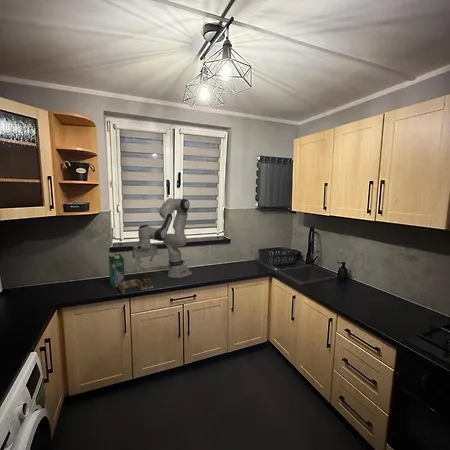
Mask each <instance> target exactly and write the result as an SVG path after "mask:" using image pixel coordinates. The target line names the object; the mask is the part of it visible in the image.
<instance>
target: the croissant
mask: <svg viewBox="0 0 450 450" xmlns="http://www.w3.org/2000/svg"><path fill="white" fill-rule="evenodd" d="M134 287H138V288H139V289H140V290H141V291H143V290H144V289H143V281H141V280H139V278H137V279H136V278H135V279H131V280H130V279H129V280H125V281H124V282H119V287H118V290H119V291H120V292H121V293H122V294H123V295H125V293H126V291H125V290H126V289H129V288H134Z"/></svg>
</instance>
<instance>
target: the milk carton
mask: <svg viewBox="0 0 450 450" xmlns="http://www.w3.org/2000/svg"><path fill="white" fill-rule="evenodd" d="M124 260H125V258H124V257H123V256H122V254H121V253H117V254H110V255H108V264H109V265H108V266H109V281H110V282H109V284H110V285H109V286H111V287H112V288H119V282H124V281H126V279H125V261H124Z"/></svg>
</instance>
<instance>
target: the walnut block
mask: <svg viewBox="0 0 450 450" xmlns="http://www.w3.org/2000/svg"><path fill="white" fill-rule="evenodd" d="M142 283H143V287H145V288H148V287H151V285H152V279H151V278H149V277H147V278H143V279H142Z"/></svg>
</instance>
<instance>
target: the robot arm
mask: <svg viewBox="0 0 450 450" xmlns="http://www.w3.org/2000/svg"><path fill="white" fill-rule="evenodd" d="M190 205H191V204H190V201H189V200H188V199H186V198H172V197H170V198H167V199H166V200H165V201H164V202H163V204H162V205H161V207H160V208H159V212H158V213H159V216H160V217H161V218H162V219H163V222H162V224H161V226H160V227H158V228H155V227H152V226H150V225H149V224H143V225H140V226H139V228H138V243H137V244H134V245H132V251H131V255H132V256H131V257H132V259H135V260H138V263H139V264H141V263H142V261H141V260H140V259H141V258H146V257H151V258H149V262H153V260H154V256H157V255H158V254H159V251H158V245H157V244H156V243H151V240H153V241H158V242H163V244H164V245H165V246H166V248H167V251H168V272H167V277H168V278H173V279H174V278H175V279H176V278H178V279H182V278H184V277H188V276H190V275H193V273H192V271H190V268H189V266H187V265H186V264H185V263H186V261H185V260H182V252H181V250H180V249H179V247H186V245H187V244H188V237H187V236H186V234H185V227H186V224H187V220H188V211H189V209H190ZM174 211H176V215H175V216H174V220H173V214H174ZM172 220H173V223H172ZM171 223H172V229H174V233H168V231H169V229H170V225H171Z"/></svg>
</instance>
